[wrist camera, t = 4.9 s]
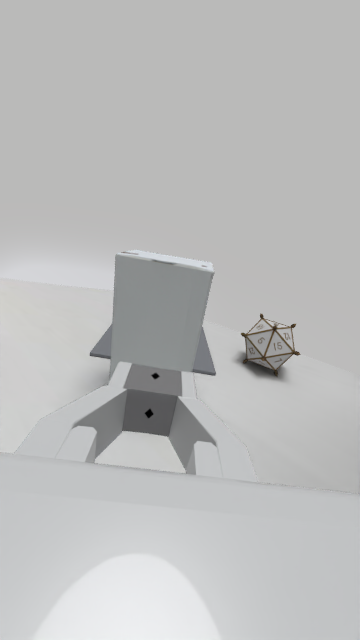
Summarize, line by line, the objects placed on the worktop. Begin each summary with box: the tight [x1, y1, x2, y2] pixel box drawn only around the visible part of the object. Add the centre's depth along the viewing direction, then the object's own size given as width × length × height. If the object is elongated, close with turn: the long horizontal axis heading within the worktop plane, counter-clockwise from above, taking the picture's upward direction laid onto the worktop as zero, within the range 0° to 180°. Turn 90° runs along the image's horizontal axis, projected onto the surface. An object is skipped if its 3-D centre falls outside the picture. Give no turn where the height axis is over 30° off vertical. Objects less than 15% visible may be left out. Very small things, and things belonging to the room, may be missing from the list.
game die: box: [241, 314, 301, 376], centre depth 34 cm, size 9×8×10 cm
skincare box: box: [110, 250, 214, 379], centre depth 22 cm, size 8×6×15 cm
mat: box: [90, 325, 216, 375], centre depth 37 cm, size 17×17×1 cm
